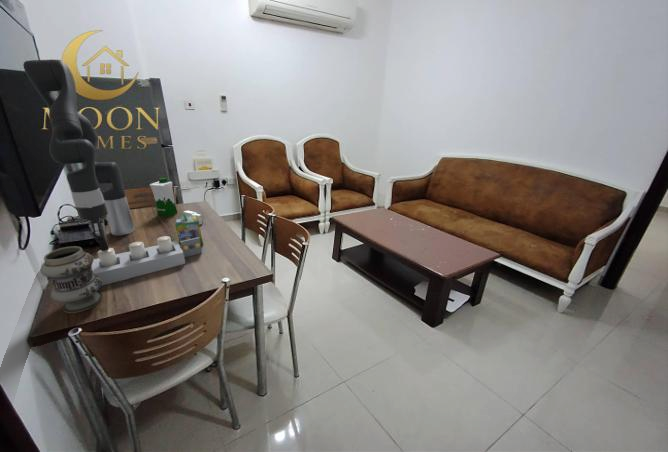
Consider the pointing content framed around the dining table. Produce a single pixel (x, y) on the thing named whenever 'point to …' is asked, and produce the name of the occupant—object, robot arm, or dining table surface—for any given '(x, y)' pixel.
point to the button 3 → (164, 244)
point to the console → (138, 264)
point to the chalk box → (188, 228)
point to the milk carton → (164, 197)
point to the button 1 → (107, 257)
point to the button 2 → (137, 250)
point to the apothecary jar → (72, 278)
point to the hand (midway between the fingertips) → (105, 249)
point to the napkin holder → (190, 213)
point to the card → (191, 247)
